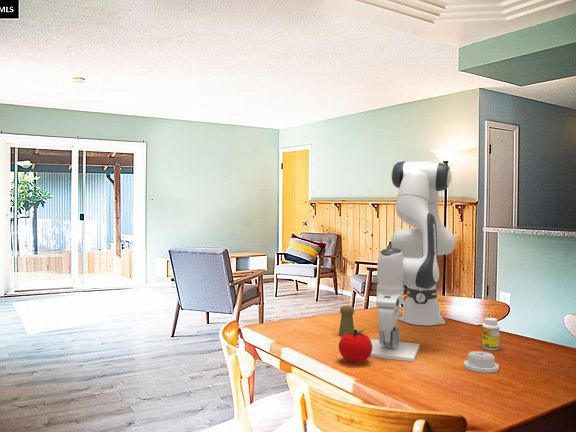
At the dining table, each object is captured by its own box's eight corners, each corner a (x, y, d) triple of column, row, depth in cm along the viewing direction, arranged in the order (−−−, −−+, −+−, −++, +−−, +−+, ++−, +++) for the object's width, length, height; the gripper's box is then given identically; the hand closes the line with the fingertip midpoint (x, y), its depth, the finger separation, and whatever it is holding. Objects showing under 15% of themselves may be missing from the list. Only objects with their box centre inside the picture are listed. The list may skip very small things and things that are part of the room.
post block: (367, 341, 188) (368, 313, 188) (419, 346, 182) (419, 317, 181) (356, 355, 171) (357, 324, 171) (413, 361, 165) (414, 329, 165)
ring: (381, 340, 180) (381, 325, 180) (400, 342, 178) (400, 327, 178) (378, 345, 174) (378, 330, 174) (397, 347, 172) (397, 331, 172)
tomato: (331, 359, 166) (332, 328, 165) (358, 355, 171) (358, 324, 171) (352, 369, 157) (352, 335, 156) (379, 363, 162) (379, 331, 162)
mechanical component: (481, 362, 166) (456, 365, 162) (481, 348, 166) (456, 351, 162) (506, 371, 157) (480, 375, 153) (506, 356, 157) (480, 360, 153)
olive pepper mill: (354, 337, 193) (354, 307, 193) (337, 336, 194) (338, 307, 194) (355, 333, 199) (355, 304, 199) (339, 332, 200) (339, 304, 200)
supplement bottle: (479, 346, 183) (479, 317, 183) (494, 346, 184) (495, 317, 183) (485, 350, 178) (486, 320, 177) (502, 350, 178) (502, 320, 178)
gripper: (385, 292, 187) (384, 330, 187) (375, 302, 167) (374, 345, 168) (403, 293, 185) (403, 332, 185) (395, 303, 165) (394, 347, 166)
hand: (389, 338), depth 176 cm, fingers closed on ring, 6 cm apart
